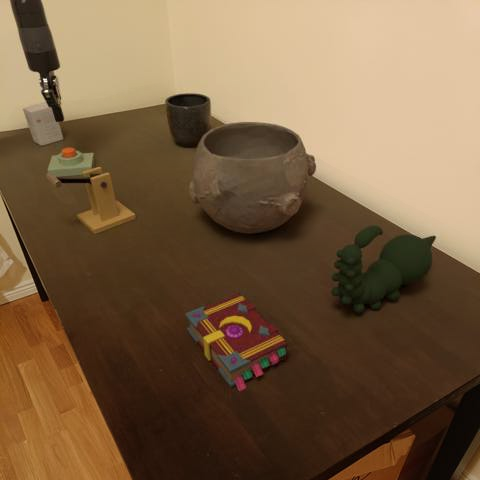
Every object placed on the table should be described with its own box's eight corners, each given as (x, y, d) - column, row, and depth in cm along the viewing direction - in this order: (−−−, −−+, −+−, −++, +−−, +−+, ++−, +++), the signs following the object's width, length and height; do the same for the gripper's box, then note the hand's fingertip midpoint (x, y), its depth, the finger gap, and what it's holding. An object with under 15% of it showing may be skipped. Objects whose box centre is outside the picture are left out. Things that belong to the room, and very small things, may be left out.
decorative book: (240, 309, 81) (240, 289, 78) (291, 364, 71) (294, 344, 68) (186, 332, 77) (184, 311, 73) (233, 394, 67) (233, 373, 63)
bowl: (172, 242, 97) (160, 156, 84) (219, 187, 117) (216, 109, 103) (287, 267, 91) (295, 177, 77) (317, 204, 110) (328, 123, 96)
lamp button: (62, 159, 122) (60, 153, 120) (64, 154, 124) (62, 147, 123) (75, 158, 122) (74, 152, 121) (76, 153, 125) (75, 147, 123)
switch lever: (54, 189, 90) (55, 178, 89) (45, 181, 93) (45, 170, 92) (108, 189, 98) (108, 178, 97) (98, 181, 101) (98, 171, 100)
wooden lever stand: (94, 234, 100) (82, 187, 92) (78, 219, 105) (64, 173, 97) (136, 218, 105) (127, 172, 97) (118, 204, 110) (108, 159, 102)
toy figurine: (352, 337, 78) (444, 281, 86) (366, 255, 64) (474, 197, 73) (318, 308, 84) (407, 258, 92) (324, 227, 70) (429, 176, 78)
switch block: (49, 177, 121) (45, 163, 119) (54, 162, 128) (50, 149, 126) (93, 174, 123) (89, 160, 120) (95, 159, 130) (92, 146, 127)
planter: (188, 131, 147) (185, 90, 138) (221, 140, 141) (219, 98, 132) (160, 144, 138) (155, 101, 129) (193, 154, 132) (190, 110, 124)
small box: (56, 135, 144) (46, 101, 137) (64, 139, 141) (54, 105, 134) (33, 141, 140) (21, 107, 133) (41, 146, 137) (30, 111, 130)
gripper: (27, 41, 109) (49, 113, 121) (17, 54, 99) (42, 131, 111) (58, 40, 110) (76, 112, 122) (51, 52, 100) (72, 128, 112)
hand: (60, 121), depth 116 cm, fingers closed
